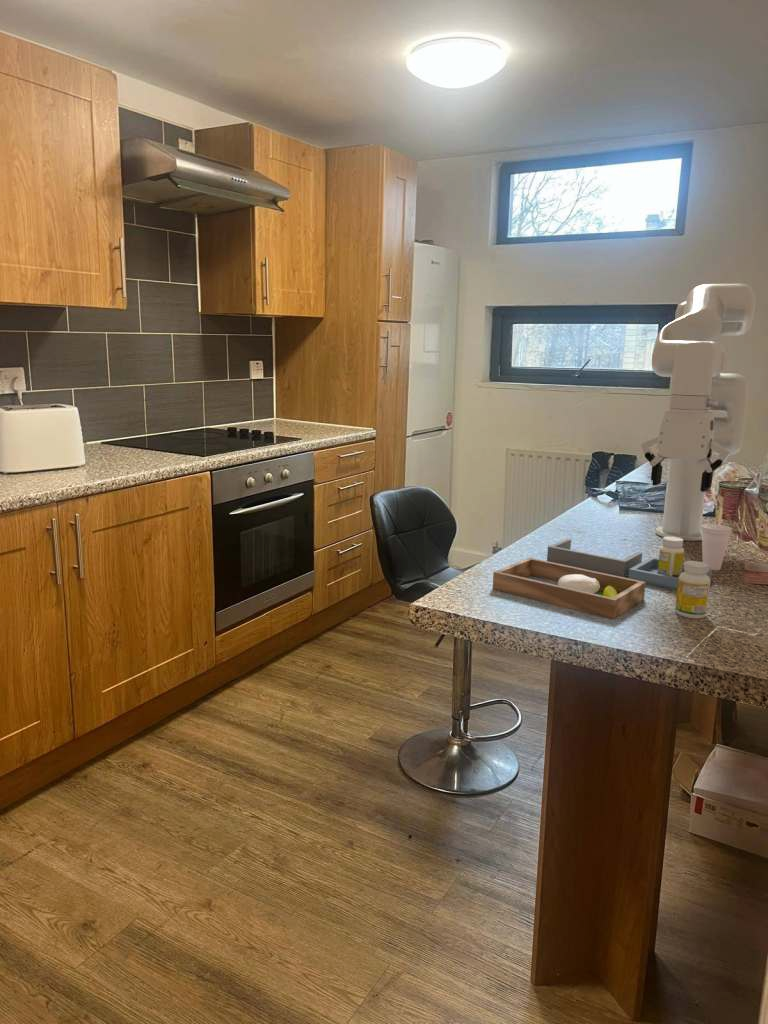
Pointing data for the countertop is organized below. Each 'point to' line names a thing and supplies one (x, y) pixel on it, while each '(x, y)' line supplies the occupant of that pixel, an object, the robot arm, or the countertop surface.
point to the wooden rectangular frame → (517, 584)
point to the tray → (656, 574)
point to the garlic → (579, 583)
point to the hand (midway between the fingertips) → (679, 487)
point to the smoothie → (714, 543)
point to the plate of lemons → (610, 592)
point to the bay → (591, 560)
